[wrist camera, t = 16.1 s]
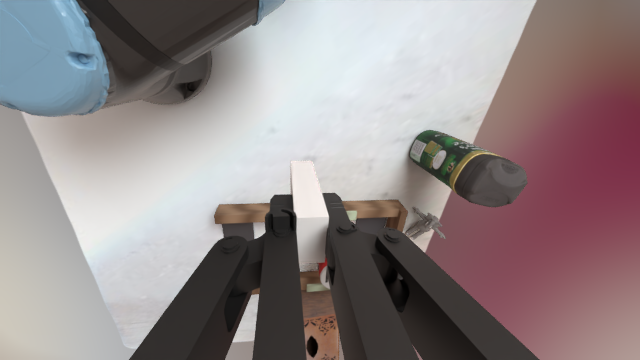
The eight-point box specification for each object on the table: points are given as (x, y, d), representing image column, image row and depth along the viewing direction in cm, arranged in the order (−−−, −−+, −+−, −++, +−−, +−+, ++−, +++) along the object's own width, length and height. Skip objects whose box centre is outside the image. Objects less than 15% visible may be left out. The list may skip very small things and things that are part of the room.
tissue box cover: (279, 286, 62) (279, 322, 53) (331, 278, 63) (338, 312, 55) (289, 339, 74) (289, 376, 65) (332, 331, 75) (338, 366, 66)
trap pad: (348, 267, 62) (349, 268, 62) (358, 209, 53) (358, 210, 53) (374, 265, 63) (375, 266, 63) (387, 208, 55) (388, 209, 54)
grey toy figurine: (391, 225, 58) (417, 206, 52) (399, 215, 62) (424, 196, 56) (421, 256, 55) (451, 240, 49) (427, 244, 60) (456, 227, 54)
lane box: (232, 282, 58) (228, 300, 54) (219, 204, 48) (212, 218, 43) (379, 271, 64) (387, 286, 60) (397, 199, 54) (408, 211, 49)
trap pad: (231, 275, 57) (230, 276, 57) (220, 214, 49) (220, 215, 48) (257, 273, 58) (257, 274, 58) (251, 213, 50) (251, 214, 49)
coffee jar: (457, 136, 48) (545, 172, 32) (438, 169, 52) (510, 217, 35) (420, 124, 46) (495, 156, 30) (402, 159, 49) (462, 205, 33)
